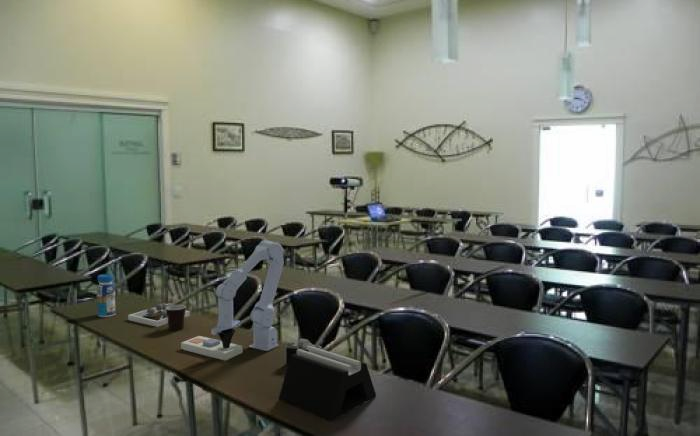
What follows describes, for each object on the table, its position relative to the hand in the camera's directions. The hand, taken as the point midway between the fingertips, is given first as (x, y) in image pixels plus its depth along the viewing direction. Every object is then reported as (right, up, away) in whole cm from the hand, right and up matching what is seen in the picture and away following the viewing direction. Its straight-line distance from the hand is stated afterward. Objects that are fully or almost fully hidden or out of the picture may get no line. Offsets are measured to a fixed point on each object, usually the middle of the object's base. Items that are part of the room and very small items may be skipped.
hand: (226, 347), depth 218 cm
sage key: (0, -2, 0) cm, 2 cm away
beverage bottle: (-71, +3, +53) cm, 89 cm away
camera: (+32, -5, -10) cm, 34 cm away
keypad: (-7, -2, +4) cm, 9 cm away
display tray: (-43, +3, +49) cm, 65 cm away
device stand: (+42, -8, -38) cm, 57 cm away
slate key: (-7, 0, +4) cm, 8 cm away
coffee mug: (-30, +1, +34) cm, 45 cm away
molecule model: (-45, +3, +50) cm, 67 cm away
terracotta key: (-14, -1, +8) cm, 16 cm away
